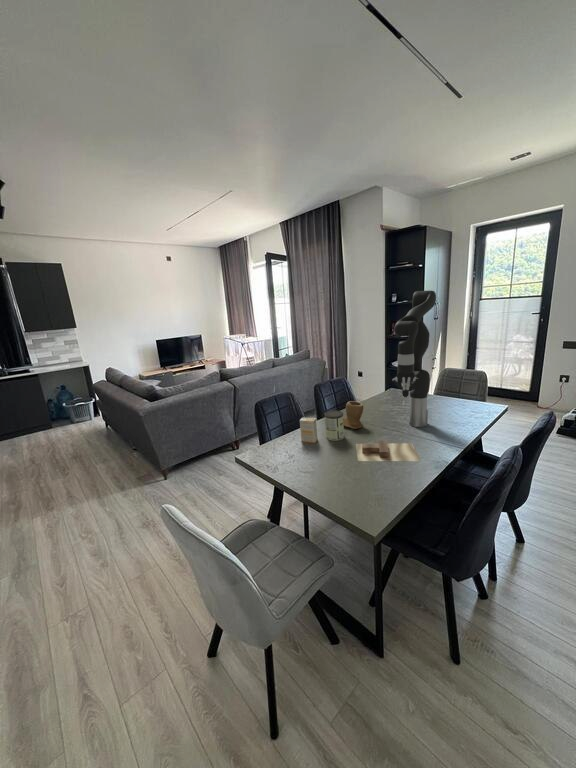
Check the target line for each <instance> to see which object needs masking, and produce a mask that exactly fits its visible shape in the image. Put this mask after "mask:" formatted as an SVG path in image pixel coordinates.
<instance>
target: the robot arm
mask: <svg viewBox="0 0 576 768" xmlns="http://www.w3.org/2000/svg"><path fill="white" fill-rule="evenodd" d="M436 301H437V294H436V292H435V291H434V290H416V291H414V293H413V294H412V301H411V304H412V306H411V309H409V311H408V312H407V314H406V315H405V316H403V317H402V318H400V319H399V320H397V322H396V323H395V324H394V328H393V332H394V334H395V335H396V336H397V337H408V338H407V339H406V340H403V341H402V340H401V341H399V342H398V344H397V373H396V376H395V377H394V378H392V379H391V381H392V382H393V383H394V384H395V385H396V387H397V388H398V389H399V390H401V391H402V392H401V395H402V397H403V398H408V397H409V415H408V416H409V418H408V419H409V422H408V424H409V425H410V426H411V427H415V428H423V427H427V426H428V423H429V422H428V419H429V418H428V415H429V411H428V394H429V392H430V385H431V384H430V382H431V375H430V373H429V372H428V370H425V369H423V368H422V360H423V357H424V356H425V354H426V352H427V350H428V349H429V345H430V344H429V343H430V331H429V329H428V327H427V325H426V324H425V322H424V321H423V319H422V318H423V317H424V316H425V315H426V314H428V312H429V311H430V310H432V308H434V306H435V305H436ZM398 381H399V382H400V384H401V385H400V384H399V383H398ZM409 391H410V392H409Z"/></svg>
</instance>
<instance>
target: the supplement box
mask: <svg viewBox="0 0 576 768" xmlns="http://www.w3.org/2000/svg"><path fill="white" fill-rule="evenodd" d="M299 428H300V439H301V442H302V443H309V444H316V442H318V439H319V438H318V429H317V419H316V418H315V417H301V418H300V419H299Z"/></svg>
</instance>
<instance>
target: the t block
mask: <svg viewBox="0 0 576 768" xmlns="http://www.w3.org/2000/svg"><path fill="white" fill-rule="evenodd" d="M387 441H388V440H378V442H377V443H361V444H362V453H379V455H380V458H389V451H388V446H387V444H388V443H387Z"/></svg>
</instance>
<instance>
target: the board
mask: <svg viewBox="0 0 576 768" xmlns="http://www.w3.org/2000/svg"><path fill="white" fill-rule="evenodd" d="M362 444H363V443H355V449H356V454H357V456H356V457H357V462H422V460H421V457H420V455H419V454H418V452H417V450H416V448H415V447H414V444H413V443H412V442H409V443H407V442H406V443H404V442H403V443H387V446H388V451H389V458H380V455H379V453H362Z"/></svg>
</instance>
